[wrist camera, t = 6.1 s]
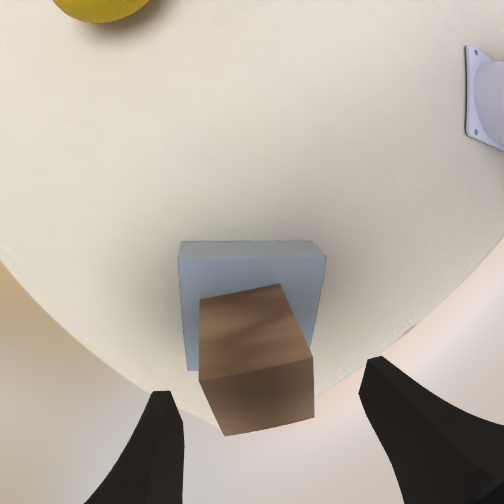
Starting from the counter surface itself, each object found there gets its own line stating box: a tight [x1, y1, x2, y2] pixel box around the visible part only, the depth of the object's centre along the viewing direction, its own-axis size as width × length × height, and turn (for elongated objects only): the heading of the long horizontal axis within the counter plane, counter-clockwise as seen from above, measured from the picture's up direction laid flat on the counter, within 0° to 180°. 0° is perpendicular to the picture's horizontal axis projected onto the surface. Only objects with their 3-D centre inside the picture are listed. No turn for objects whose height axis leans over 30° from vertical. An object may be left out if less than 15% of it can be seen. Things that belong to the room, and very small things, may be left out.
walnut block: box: [199, 283, 314, 436], centre depth 14 cm, size 4×4×6 cm
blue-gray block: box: [178, 241, 327, 371], centre depth 19 cm, size 8×8×3 cm
